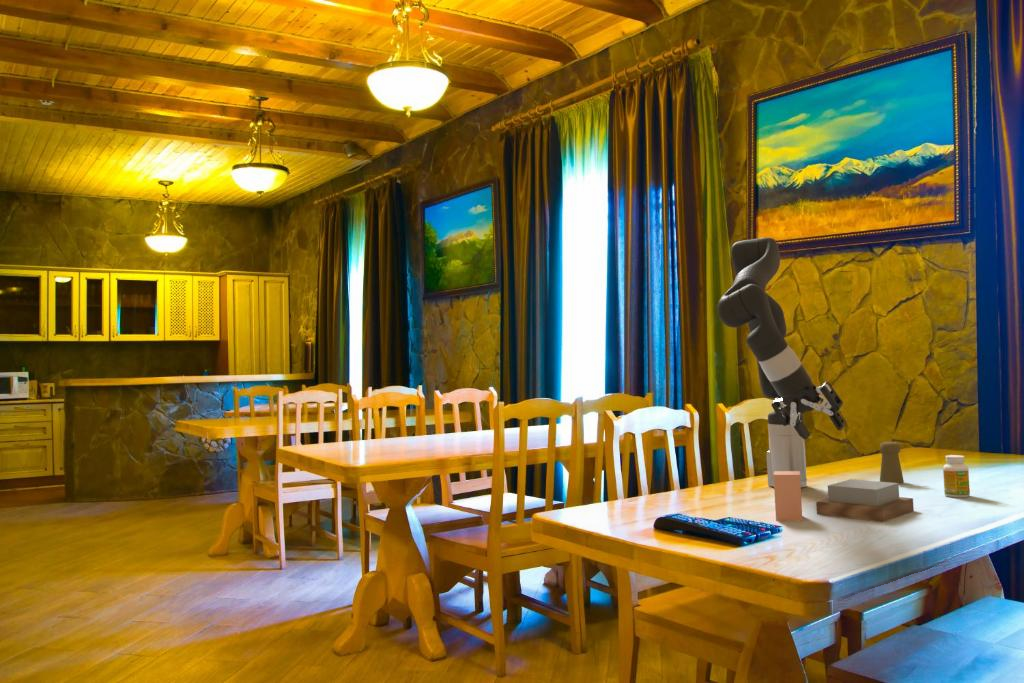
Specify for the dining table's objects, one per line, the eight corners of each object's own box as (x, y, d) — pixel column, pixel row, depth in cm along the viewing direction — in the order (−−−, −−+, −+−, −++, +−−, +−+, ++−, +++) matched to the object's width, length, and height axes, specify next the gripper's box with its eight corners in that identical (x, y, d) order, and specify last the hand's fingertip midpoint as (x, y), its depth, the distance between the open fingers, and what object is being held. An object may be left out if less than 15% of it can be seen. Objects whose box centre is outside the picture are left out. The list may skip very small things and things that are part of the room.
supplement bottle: (959, 498, 192) (956, 458, 192) (939, 495, 197) (937, 455, 197) (975, 496, 194) (972, 456, 194) (955, 493, 199) (953, 454, 199)
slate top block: (828, 501, 181) (827, 485, 181) (851, 494, 189) (850, 479, 189) (877, 506, 173) (876, 489, 173) (899, 498, 180) (898, 483, 180)
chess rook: (908, 483, 216) (905, 442, 216) (885, 484, 216) (883, 443, 216) (897, 480, 222) (895, 440, 222) (875, 481, 222) (873, 441, 222)
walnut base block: (817, 516, 182) (816, 501, 182) (848, 506, 191) (848, 492, 192) (883, 525, 170) (882, 508, 170) (913, 513, 180) (912, 498, 180)
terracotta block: (776, 520, 177) (773, 474, 177) (776, 515, 182) (773, 471, 182) (802, 520, 175) (800, 474, 175) (802, 515, 180) (799, 471, 180)
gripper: (819, 351, 169) (859, 415, 170) (764, 371, 180) (802, 431, 181) (805, 369, 164) (847, 434, 165) (750, 388, 175) (789, 449, 176)
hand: (824, 432), depth 173 cm, fingers open, 8 cm apart
